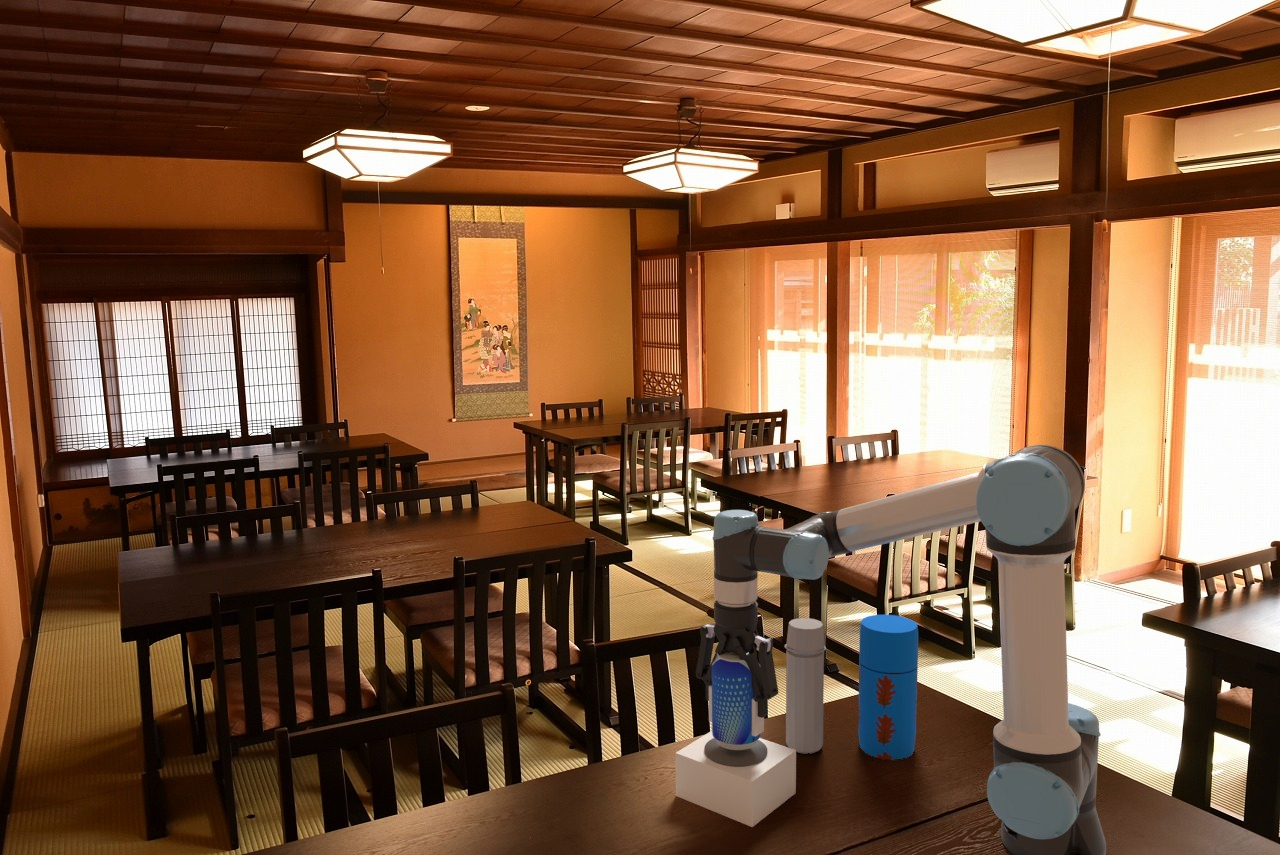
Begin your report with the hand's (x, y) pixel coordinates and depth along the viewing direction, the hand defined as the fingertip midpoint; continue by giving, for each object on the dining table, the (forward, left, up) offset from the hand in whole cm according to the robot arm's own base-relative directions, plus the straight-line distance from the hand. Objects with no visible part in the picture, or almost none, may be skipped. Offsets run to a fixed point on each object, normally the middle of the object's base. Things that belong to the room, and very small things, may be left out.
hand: (736, 725), depth 161 cm
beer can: (0, 0, -3) cm, 3 cm away
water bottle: (0, -24, -13) cm, 27 cm away
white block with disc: (0, 0, -13) cm, 13 cm away
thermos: (-13, -33, -13) cm, 38 cm away
